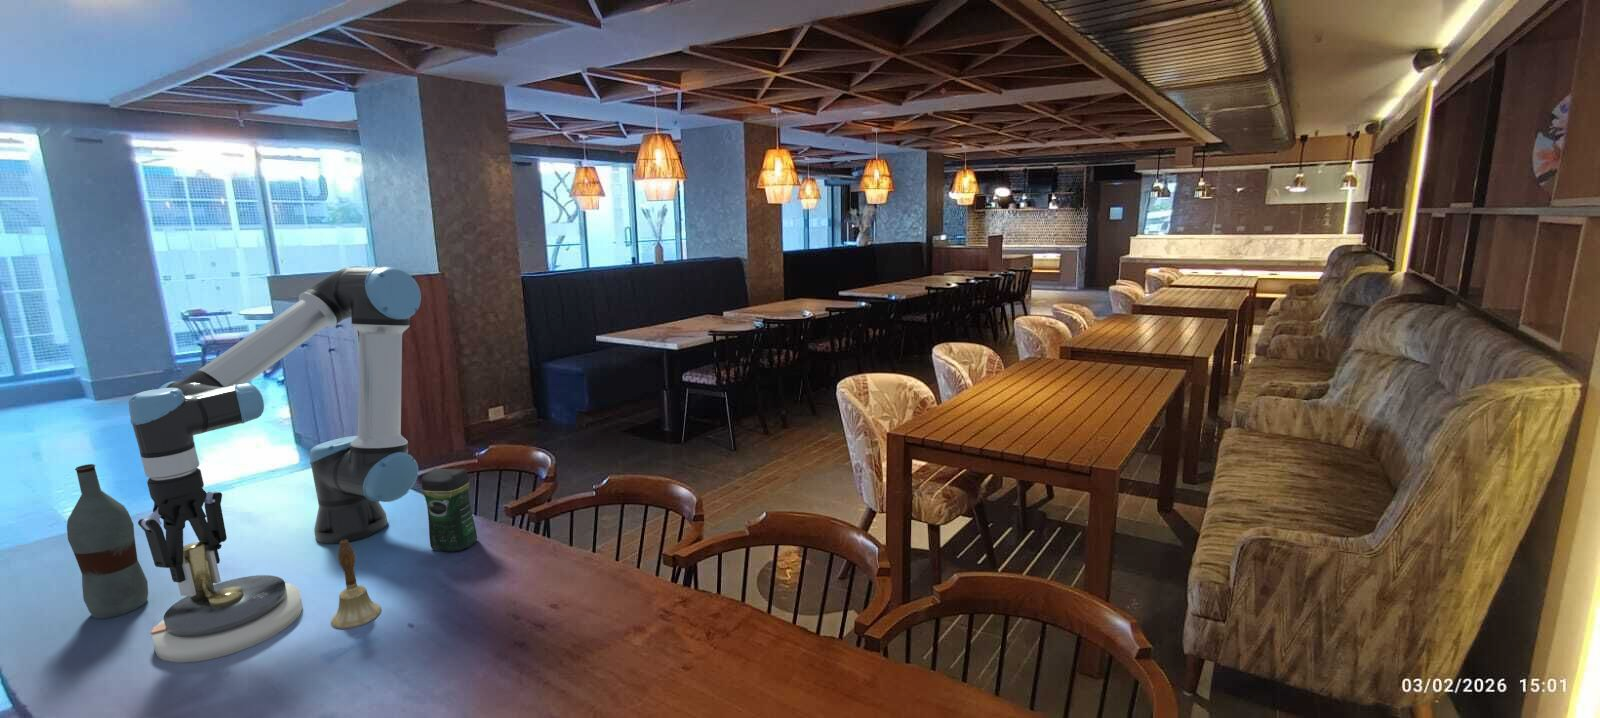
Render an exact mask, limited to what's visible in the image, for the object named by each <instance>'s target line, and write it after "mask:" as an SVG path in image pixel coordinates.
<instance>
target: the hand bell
mask: <svg viewBox="0 0 1600 718" xmlns="http://www.w3.org/2000/svg"><path fill="white" fill-rule="evenodd" d="M338 546H339V547H338V552H337V553H338V554H337V558H338V562H339V565H340V567H341V569H342V570H343V572H344V573H343V574H344V578H345V579H344V580H345V585H346V588H345V589H343V590H342V591H341V592H340V593H339V595H338V598H339V599H338V601H339V602H338V608H337V611H336V613H335V614H334V615H333V617H332V619H331V621H330V625H331V626H332V628H336V629H340V630H341V629H342V630H344V629H352V628H357V627H360V626H362V625H365V624H369V622H372V621H374V620H375V619H377V617H378V616H379V615H380V614H381V613H382V608H381V606H380V604H378V603H375V602H374V601H373V600H372V599H371V597H370V596H369V594H368V590H367V588H366V586H364V585H358V583H357V579H356V573H355V563H356V562H355V561H356V557H355V550H354V549H353V547H352V545H351V544H350V541H349V542H348V540H346V539H345V540H341V541H340V543H339V545H338Z"/></svg>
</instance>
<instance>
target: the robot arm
mask: <svg viewBox="0 0 1600 718" xmlns="http://www.w3.org/2000/svg"><path fill="white" fill-rule="evenodd" d="M421 300H422V294H421V289H420V287H419V284H418V283H417V281H416V279H414V278H413V277H412V275H411V274H410V273H409V272H407V271H405V270H403V269H401V268H396V267H390V266H386V265H384V266H359V265H358V266H348V267H345V268H342V269H339V270H337V271H335V272H332V273H331V274H329V275H327V276H326V277H324V278H322V279H321V280H320V281H318V282H316V283H314V284H313V285H311V286H310V287H309V288H308V289H306V290H304V291H303V292H302V293H300V294H299V295H298V301H297V302H295V303H294V304H293V305H291V306H290V307H288V308H287V309H285V310H284V311H282V312H281V313H279V314H278V315H276V316H275V317H274V318H272V319H271V320H269V321H268V322H267V323H264V325H262V326H260V327H258V328H257V329H256V330H255V331H253V332H251V334H249V335H247V336H246V337H244V338H243V339H241V340H240V341H238V342H237V343H236V344H234V345H233V346H231V347H230V348H228V349H227V350H226V351H224V352H222V353H221V354H219V355H218V356H217V357H215V358H214V359H212V360H210V361H209V362H208V363H206V364H205V365H204V366H202V367H201V368H199V369H198V370H196V371H194V372H193V373H191V374H190V375H189V376H187V377H186V378H184V379H182V380H174V381H169V382H167V383H164V384H163V385H161V386H159V388H157V389H149V390H144V391H141V392H137V393H135V394H133V395H132V396H131V397H130V398H129V399H128V411H129V416H130V424H131V425H132V428H133V431H134V436H135V439H136V442H137V446H138V450H139V454H140V458H141V462H142V466H143V470H144V475H145V477H146V478H148V479H147V481H146V483H147V488H148V492H149V496H150V498H151V499H152V501H153V503H154V504H153V509H152V513H150V514H149V516H147V517H146V518H140V519H139V520H138V523H137V525H138V526H139V527H140V528H141V529H142V530H143V531H144V534H145V538H146V540H147V544H148V547H149V551H150V554H151V557H152V560H153V563H154V566H155V567H156V568H164V569H169V572H170V575H171V579H172V581H173V582H174V583H177V586H178V590H179V594H180V596H183V597H186V596H191V597H193V596H195V595H196V591H195V587H194V582H193V578H192V574H191V570H190V566H189V563H185V562H183V546H184V529H185V528H186V522H189V524H190V526H191V528H192V530H193V532H194V534H195V536H196V538H197V539H198V542H203V543H204V544H205V549H206V553H207V558H208V562H209V567H210V572H211V576H212V581H213V584H218V583H221V582H222V581H221V577H220V571H219V567H218V564H220V559H221V558H220V556H219V550H220V549H221V548H222V543H224V542H226V540H227V538H228V537H227V536H228V535H227V532H226V526H225V522H224V516H223V515H224V514H223V509H222V505H221V504H222V498H223V494H222V492H217V491H208V492H207V491H205V489H204V486H205V484H204V479H203V475H202V470H201V469H199V468H198V467H199V466H200V461H199V457H198V453H197V449H196V444H195V441H194V440H195V439H194V436H196V435H200V434H204V433H207V432H208V433H209V432H213V431H215V430H220V429H225V428H229V427H233V426H236V425H240V424H242V425H243V424H245V423H247V422H251V421H253V420H257V419H259V418H260V417H261V416H262V415H263V413H264V410H265V403H264V398H263V395H262V393H261V391H260V389H259V388H258V387H257V386H255V384H252V383H250V382H251V381H252V380H254V379H255V378H256V377H258V376H259V375H261V374H262V373H264V372H265V371H266V370H267V369H269V368H270V367H272V366H273V365H275V364H276V363H277V362H279V361H280V360H281V359H283V358H284V357H285V356H287V355H289V354H290V353H291V352H292V351H294V350H295V349H297V348H298V347H299V346H300V345H302V344H303V343H305V342H306V341H308V340H309V339H311V337H313V336H314V335H316V334H317V333H319V332H320V331H322V329H325V328H326V327H328V328H333V327H334V326H336V325H337V324H339V323H341V322H342V321H344V320H347V319H350V318H351V326H352V327H353V328H354V329H356V331H357V332H358V335H359V337H358V342H359V344H358V405H357V407H358V413H357V416H358V417H357V418H358V419H357V435H351V436H345V437H339V438H337V439H331V440H329V441H326V442H322V443H319V444H317V445H315V446H313V447H312V448H311V449H310V451H309V464H310V467H311V471H312V476H313V481H314V482H313V483H314V487H315V488H314V489H315V493H316V498H317V503H318V509H317V515H316V519H315V520H316V521H315V524H314V536H315V540H316V541H317V542H319V543H322V544H331V545H332V544H340V541H341V540H345V539H346V540H348V542H349V543H350V542H353V541H357V540H362V539H365V538H368V537H370V536H372V535H375V534H376V533H378V532H380V531H381V530H383V529H384V528H385V527H386V526H387V525H388V516H387V513H386V511H385V509H384V508H383V506H382V504H381V503H380V502H383V503H390V502H394V501H397V500H399V499H402V498H403V497H404V496H405V495H407V494H408V492H409V491H410V490H412V489H413V488H414V486H415V483H416V482H417V480H418V476H419V465H418V461H416V459H415V458H414V457H413V456H412V455H411V454H410V453H409V449H408V447H409V442H408V439H406V438H405V437H404V436H403V435H402V434H401V433H402V432H401V430H402V425H401V424H402V423H401V422H402V379H403V376H402V370H403V369H402V368H403V367H402V366H403V365H402V363H403V357H402V356H403V333H404V332H405V331H406V330H407V329H408V328H409V329H410V326H411V325H410V321H411V320H410V319H411V317H412V316H414V315H415V313H416V311H418V310H419V308H420V305H421ZM408 453H409V454H408ZM203 506H204V509H203ZM160 519H161V520H163V528H162V526H161V525H162V522H161V520H160ZM163 529H164V530H165V534H164V530H163Z"/></svg>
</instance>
